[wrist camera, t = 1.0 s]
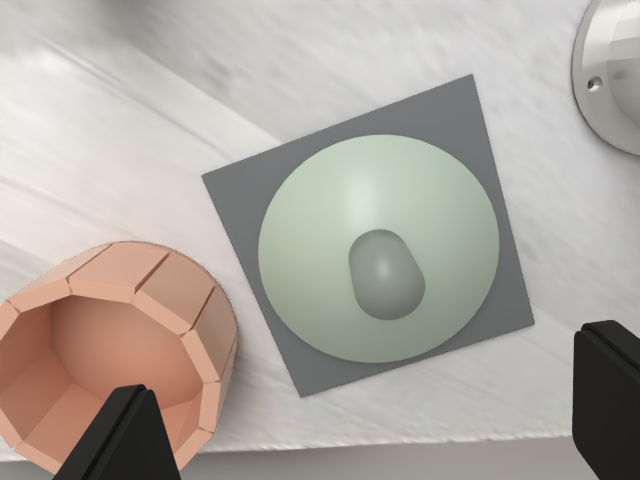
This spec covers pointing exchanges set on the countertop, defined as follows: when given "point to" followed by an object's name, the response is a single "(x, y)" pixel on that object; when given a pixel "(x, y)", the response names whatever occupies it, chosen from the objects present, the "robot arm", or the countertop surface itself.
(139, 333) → the bowl
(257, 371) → the countertop surface
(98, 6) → the countertop surface
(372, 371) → the mat
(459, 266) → the lid
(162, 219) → the countertop surface
